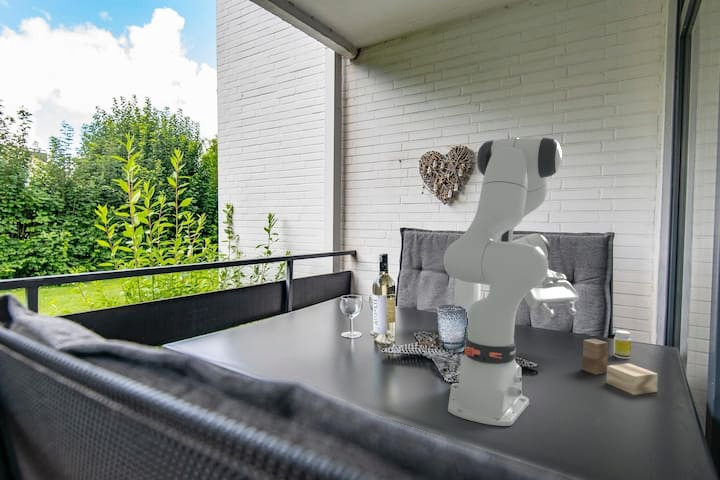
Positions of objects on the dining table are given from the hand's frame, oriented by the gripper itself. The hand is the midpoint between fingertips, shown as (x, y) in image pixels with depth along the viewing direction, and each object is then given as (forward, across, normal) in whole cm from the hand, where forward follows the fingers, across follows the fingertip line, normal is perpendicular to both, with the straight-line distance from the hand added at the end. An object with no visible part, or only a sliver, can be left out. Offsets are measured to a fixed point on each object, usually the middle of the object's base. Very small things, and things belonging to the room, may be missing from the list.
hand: (563, 315), depth 129 cm
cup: (-15, -11, +36) cm, 41 cm away
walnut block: (+18, 0, +2) cm, 18 cm away
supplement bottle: (+14, +21, +7) cm, 26 cm away
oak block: (+27, -1, -6) cm, 28 cm away
